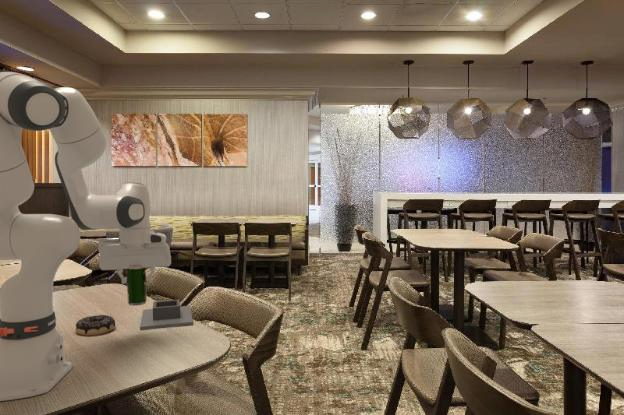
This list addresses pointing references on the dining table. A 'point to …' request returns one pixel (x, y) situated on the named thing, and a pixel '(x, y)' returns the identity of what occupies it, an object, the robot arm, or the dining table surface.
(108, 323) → the donut
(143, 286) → the beer can
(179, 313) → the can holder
